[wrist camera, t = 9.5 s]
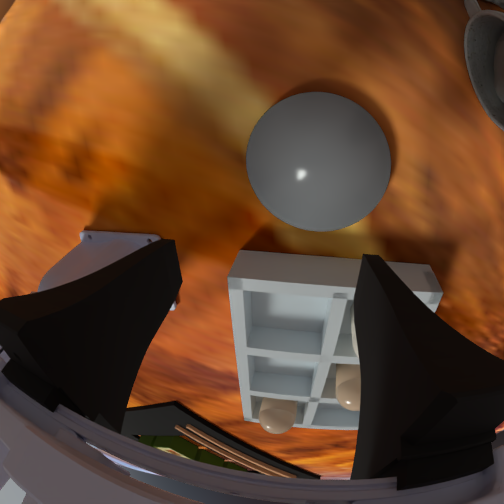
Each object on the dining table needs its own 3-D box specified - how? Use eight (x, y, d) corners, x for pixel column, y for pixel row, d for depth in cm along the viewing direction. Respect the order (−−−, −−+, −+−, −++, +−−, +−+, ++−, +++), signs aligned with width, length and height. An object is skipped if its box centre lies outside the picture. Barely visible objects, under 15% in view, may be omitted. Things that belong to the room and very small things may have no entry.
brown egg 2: (332, 373, 26) (330, 417, 22) (340, 348, 24) (340, 396, 20) (370, 374, 25) (372, 418, 21) (381, 350, 23) (386, 397, 19)
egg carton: (250, 397, 33) (244, 420, 30) (239, 249, 22) (227, 276, 19) (364, 406, 30) (365, 429, 27) (429, 264, 19) (443, 292, 16)
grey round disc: (251, 220, 20) (248, 226, 19) (247, 91, 16) (243, 91, 15) (377, 230, 19) (380, 236, 18) (391, 100, 14) (396, 100, 13)
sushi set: (320, 473, 52) (318, 488, 48) (204, 475, 73) (200, 485, 70) (176, 397, 39) (167, 419, 36) (90, 409, 60) (84, 421, 57)
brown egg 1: (264, 399, 31) (256, 436, 27) (264, 382, 29) (254, 422, 24) (297, 402, 30) (292, 440, 26) (300, 386, 28) (295, 427, 24)
